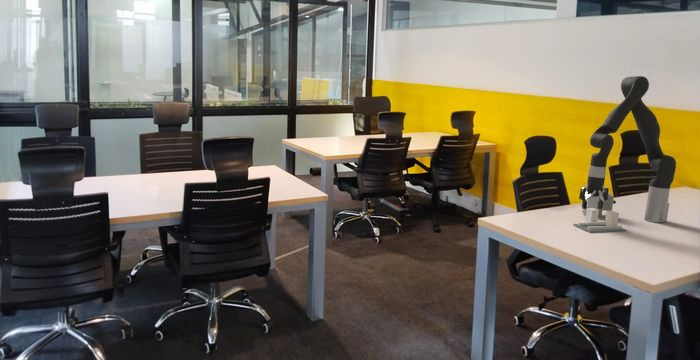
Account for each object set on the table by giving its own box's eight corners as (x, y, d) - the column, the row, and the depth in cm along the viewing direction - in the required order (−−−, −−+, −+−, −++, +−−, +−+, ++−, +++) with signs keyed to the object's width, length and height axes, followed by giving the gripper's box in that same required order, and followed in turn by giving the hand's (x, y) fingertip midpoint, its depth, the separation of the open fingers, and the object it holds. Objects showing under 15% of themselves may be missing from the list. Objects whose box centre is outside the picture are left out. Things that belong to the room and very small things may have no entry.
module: (590, 221, 297) (592, 207, 295) (596, 224, 292) (598, 210, 291) (583, 221, 296) (585, 207, 294) (590, 224, 291) (592, 210, 290)
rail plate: (609, 224, 293) (611, 208, 291) (626, 231, 282) (628, 215, 280) (573, 225, 287) (575, 209, 286) (589, 232, 276) (591, 216, 274)
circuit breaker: (614, 218, 305) (618, 189, 302) (584, 215, 307) (588, 186, 304) (611, 215, 312) (615, 186, 309) (581, 212, 314) (585, 183, 311)
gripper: (604, 174, 294) (599, 206, 298) (578, 173, 291) (574, 206, 294) (614, 177, 287) (609, 210, 291) (588, 177, 284) (584, 210, 287)
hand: (591, 208), depth 292 cm, fingers open, 8 cm apart
